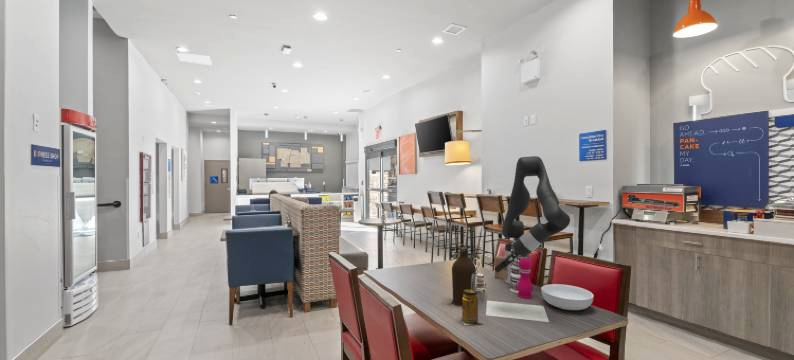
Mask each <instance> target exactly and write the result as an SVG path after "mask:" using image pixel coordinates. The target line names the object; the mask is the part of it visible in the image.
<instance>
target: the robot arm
mask: <svg viewBox="0 0 794 360" xmlns="http://www.w3.org/2000/svg"><path fill="white" fill-rule="evenodd" d="M535 176H536V177H537V178H538V184H537V185H536V193H535V194H536V197H537V199H538V202H539V203H540V205H541V209H542V212H543V216H544V218H545V220H546V221H547V222H545V223H542V222H538V223H535V225H533V226H532V227H531V228H530V229H528V231H526V232H525V226H524V222H523V221H521V220H516V219H517V218H518V217H519V216H521V215H522V214H523V213H524V212H525V211H526V210H527V209H528V206H529V203H530V201H531V193H530V192H529V191H530V190H529V189H528V188H527V186H526V184H525V182H524V181H525V178H526V177H535ZM508 201H509V202H508V206H507V210H506V211H507V212H506V213H505V217H504V221H503V222H502V227H501V232H502V233H501V234H502V236H503V237H504V238H507V239H514V240H516V241H515V242H514V243H513V241H511V242H508V243H506V244H505V246H504V257H505V258H504V260H503V261H502V262H501V263H500V264H499V265H498V266H497V267H495V266H494V269H493V270H494V272H495V271H496V272H497V273H498V272H499V271H501V270H502V269H503V268H505V267H506V266H508V277H507V280H504V283H506V284H508V285H510V282H511V281H510V279H511V278H510V276H511V266H510V265H511V263H512V262H513V261H516V260H517V259H518V255H521V256H522V257H523V258H526V257H527V256H529V255H531V254H532V253H533V252H535V250H537V249H538V248H539V247H540V245H542V244H543V243H544V242H545V241H546V240H548V239H549V238H550V237H552V236H554V235H557V234H558V233H560V232H563V231H564V230H565V229H566V228H568V227H569V225H570V222H571V218H570V216H569V214H568V213H566V212H565V211H564V210H563V209H562V208H561V207H560V201H559V198H558V196H557V195H556V193H555V191H554V189H553V188H552V185H551V182H550V179H549V176H548V173H547V170H546V166H545V163H544V162H543V159H542V158H541V157H540V156H538V155H536V156H535V155H532V156H523V157H522V156H521V157H518V159H517V162H516V165H515V174H514V181H513V185H512V190H511V193H510V198H509V200H508ZM511 243H513V244H511ZM512 246H513V248H514V249H515V250H513V251H512V250H511V249H512ZM504 262H506V263H507V264H505V263H504Z"/></svg>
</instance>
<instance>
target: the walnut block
mask: <svg viewBox="0 0 794 360" xmlns="http://www.w3.org/2000/svg"><path fill="white" fill-rule="evenodd" d="M504 258H505V256H500V255H497V256H495V258H494V268H495V267H497V266H498V265H499V264H500V263H501V262H502V261H503V260H504ZM504 263H505V264H507V263H506V262H504ZM507 277H508V266H506V267H505V268H503V269H502V270H501V271H499V272H498V273H497V272H496V271H495V270H494V279H495V280H499V281H500V280H501V281H505V280H507Z"/></svg>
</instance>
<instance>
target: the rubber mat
mask: <svg viewBox="0 0 794 360" xmlns="http://www.w3.org/2000/svg"><path fill="white" fill-rule="evenodd" d="M545 309H546V308H545V307H544V305H536V304H527V303H516V302H514V303H513V302H505V301H496V300H495V301H494V300H486V309H485V310H486V311H485V316H489V317H501V318H506V319H507V318H508V319H516V320H517V319H518V320H525V321H526V320H527V321H535V322H536V321H537V322H546V323H550V321H549V318H548V315H547V312H546V310H545Z"/></svg>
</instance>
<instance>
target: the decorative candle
mask: <svg viewBox="0 0 794 360" xmlns="http://www.w3.org/2000/svg"><path fill="white" fill-rule="evenodd" d="M515 241H516V240H515V239H514V240H513V241H512V242H513V243H514V242H515ZM510 243H511V242H510ZM513 243H511V244H513ZM511 250H512V251H513V250H515V249H514V248H513V246H512V249H511ZM522 258H523V257H522V256H521V255H518V259H517V260H516V261H513V262H512V263H511V265H510V266H511V276H510V278H511V279H510V281H511V282H510V284H509V285H510V286H509V288H510V289H509V290H510V291H511V292H513V293H516V294H518V292H519V291H518V290H517V284H518V282H519V280H520V275H521V274H520V271H519V270H520V267H519V265H518V262H519V260H520V259H522ZM529 258H530V256H529V255H528V256H527V259H529Z"/></svg>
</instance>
